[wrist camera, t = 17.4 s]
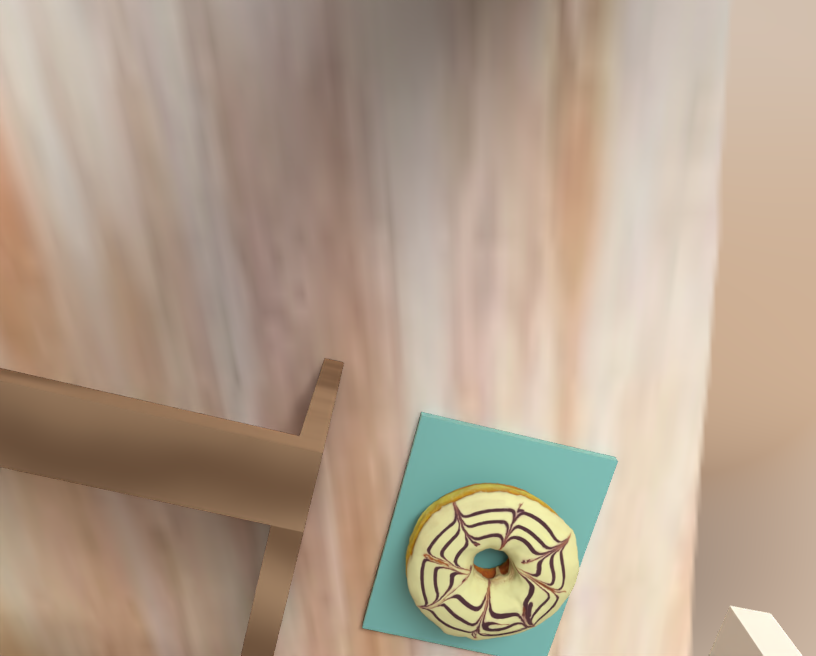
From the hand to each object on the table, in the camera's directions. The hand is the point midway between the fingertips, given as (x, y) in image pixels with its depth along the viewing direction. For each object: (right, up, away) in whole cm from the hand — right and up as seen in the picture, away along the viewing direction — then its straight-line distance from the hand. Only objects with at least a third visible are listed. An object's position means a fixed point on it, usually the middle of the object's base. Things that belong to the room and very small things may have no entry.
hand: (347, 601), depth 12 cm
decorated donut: (+6, -10, +34) cm, 36 cm away
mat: (+6, -10, +34) cm, 36 cm away
